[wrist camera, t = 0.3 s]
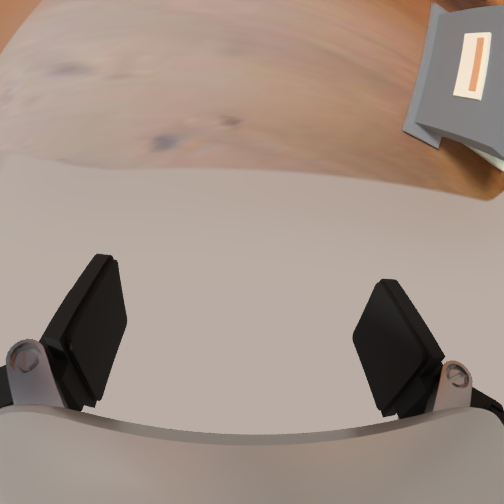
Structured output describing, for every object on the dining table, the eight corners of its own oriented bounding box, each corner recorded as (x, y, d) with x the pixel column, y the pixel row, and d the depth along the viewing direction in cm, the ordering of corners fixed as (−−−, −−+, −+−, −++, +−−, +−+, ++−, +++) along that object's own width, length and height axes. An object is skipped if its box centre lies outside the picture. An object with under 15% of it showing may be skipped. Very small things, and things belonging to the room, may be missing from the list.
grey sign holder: (431, 3, 23) (506, -12, 8) (462, 26, 24) (537, 23, 10) (401, 130, 35) (480, 160, 20) (434, 147, 36) (511, 183, 21)
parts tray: (477, 85, 30) (485, 86, 28) (510, 115, 31) (518, 118, 29) (462, 143, 35) (470, 146, 33) (495, 167, 37) (503, 171, 35)
